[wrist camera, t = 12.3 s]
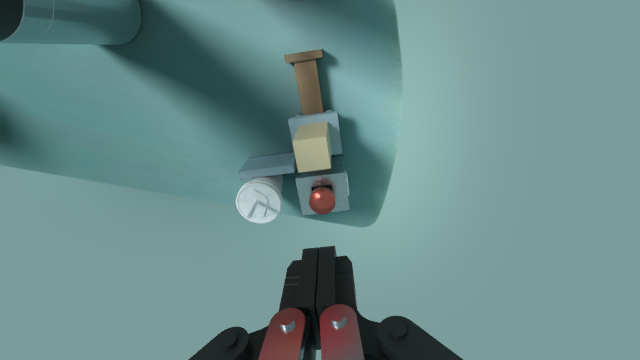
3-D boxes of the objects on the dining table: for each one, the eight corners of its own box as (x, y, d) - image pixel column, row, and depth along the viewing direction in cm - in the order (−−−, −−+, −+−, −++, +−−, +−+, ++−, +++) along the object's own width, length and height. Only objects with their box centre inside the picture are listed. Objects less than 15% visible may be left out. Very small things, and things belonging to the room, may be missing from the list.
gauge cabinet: (306, 194, 51) (302, 215, 45) (300, 161, 49) (295, 178, 42) (349, 189, 50) (351, 210, 44) (344, 155, 48) (346, 172, 42)
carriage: (250, 164, 49) (228, 196, 38) (239, 122, 46) (212, 144, 36) (342, 152, 47) (345, 182, 37) (336, 108, 45) (337, 126, 34)
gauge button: (314, 192, 48) (311, 215, 42) (310, 172, 47) (306, 192, 40) (336, 190, 48) (337, 212, 41) (333, 169, 47) (333, 189, 40)
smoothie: (285, 155, 48) (267, 193, 36) (295, 190, 51) (282, 237, 38) (247, 162, 49) (217, 202, 36) (259, 197, 52) (234, 245, 39)
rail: (306, 160, 49) (304, 166, 46) (286, 55, 42) (284, 55, 40) (336, 156, 48) (337, 162, 46) (322, 49, 42) (321, 49, 40)
